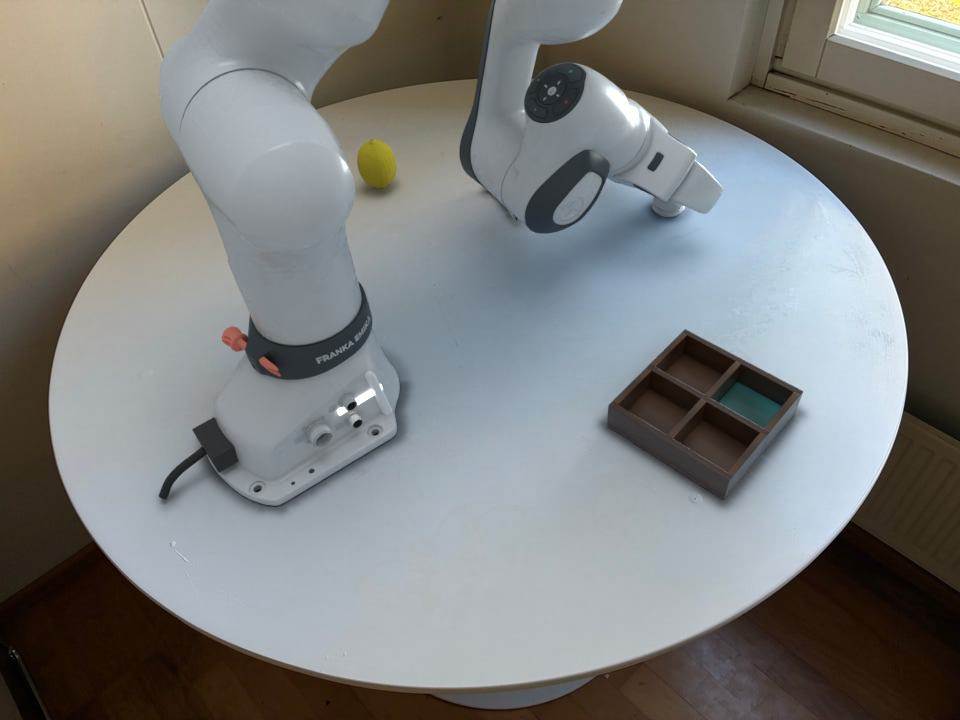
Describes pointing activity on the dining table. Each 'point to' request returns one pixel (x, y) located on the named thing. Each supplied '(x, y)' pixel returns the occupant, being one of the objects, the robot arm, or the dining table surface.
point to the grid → (704, 411)
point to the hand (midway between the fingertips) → (675, 180)
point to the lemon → (376, 163)
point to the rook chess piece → (667, 207)
